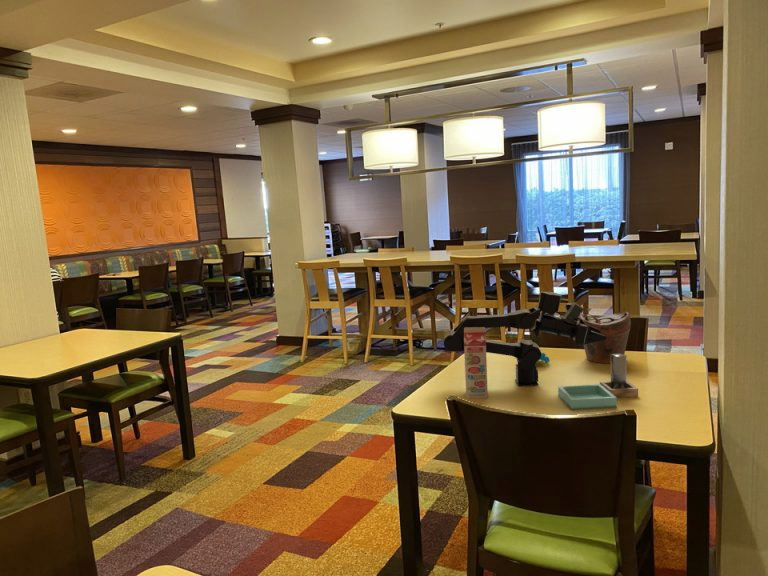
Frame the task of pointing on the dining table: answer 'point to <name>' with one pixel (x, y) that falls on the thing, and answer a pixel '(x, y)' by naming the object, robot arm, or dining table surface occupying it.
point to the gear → (544, 357)
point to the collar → (621, 390)
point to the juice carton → (475, 362)
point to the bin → (587, 397)
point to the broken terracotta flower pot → (615, 332)
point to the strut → (618, 371)
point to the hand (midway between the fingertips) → (603, 334)
